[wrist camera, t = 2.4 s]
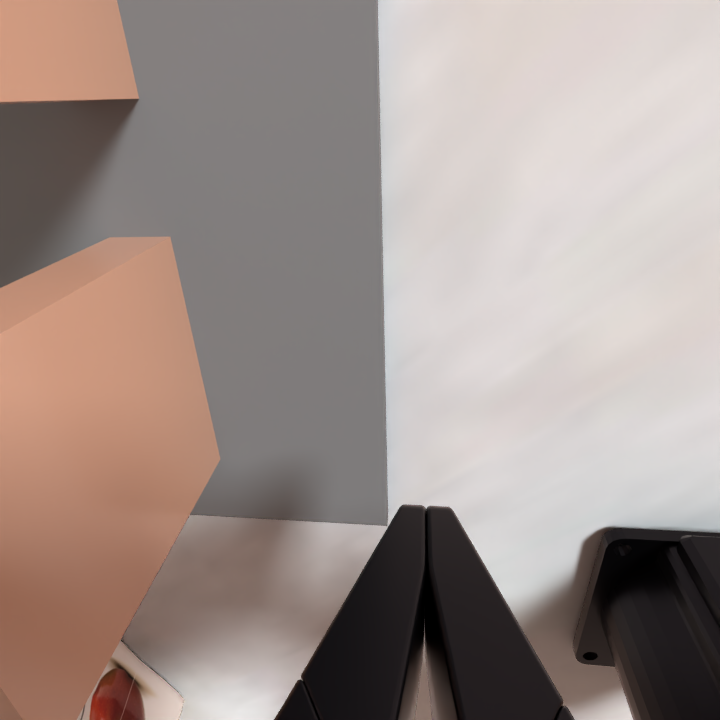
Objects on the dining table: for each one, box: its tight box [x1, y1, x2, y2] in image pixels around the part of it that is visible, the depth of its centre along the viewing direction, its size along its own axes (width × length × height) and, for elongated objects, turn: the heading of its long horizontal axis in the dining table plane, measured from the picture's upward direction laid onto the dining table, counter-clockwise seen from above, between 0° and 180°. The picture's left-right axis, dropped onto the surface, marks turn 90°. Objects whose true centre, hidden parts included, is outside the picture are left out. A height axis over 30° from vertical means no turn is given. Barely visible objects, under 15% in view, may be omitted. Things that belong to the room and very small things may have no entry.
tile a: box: [0, 237, 220, 720], centre depth 10 cm, size 7×2×8 cm, turn 2°
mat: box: [0, 0, 388, 526], centre depth 12 cm, size 22×18×1 cm
